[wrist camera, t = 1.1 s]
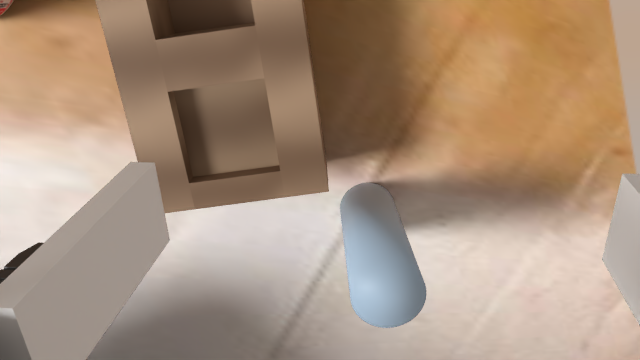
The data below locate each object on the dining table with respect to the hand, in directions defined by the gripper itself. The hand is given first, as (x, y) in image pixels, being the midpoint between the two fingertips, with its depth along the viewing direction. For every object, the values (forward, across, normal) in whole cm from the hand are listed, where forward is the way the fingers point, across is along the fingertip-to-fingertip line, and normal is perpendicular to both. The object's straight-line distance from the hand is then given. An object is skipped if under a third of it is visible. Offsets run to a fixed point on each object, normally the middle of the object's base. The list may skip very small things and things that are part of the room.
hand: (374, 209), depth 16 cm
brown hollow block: (+21, +11, 0) cm, 24 cm away
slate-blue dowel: (+21, +1, +12) cm, 24 cm away
